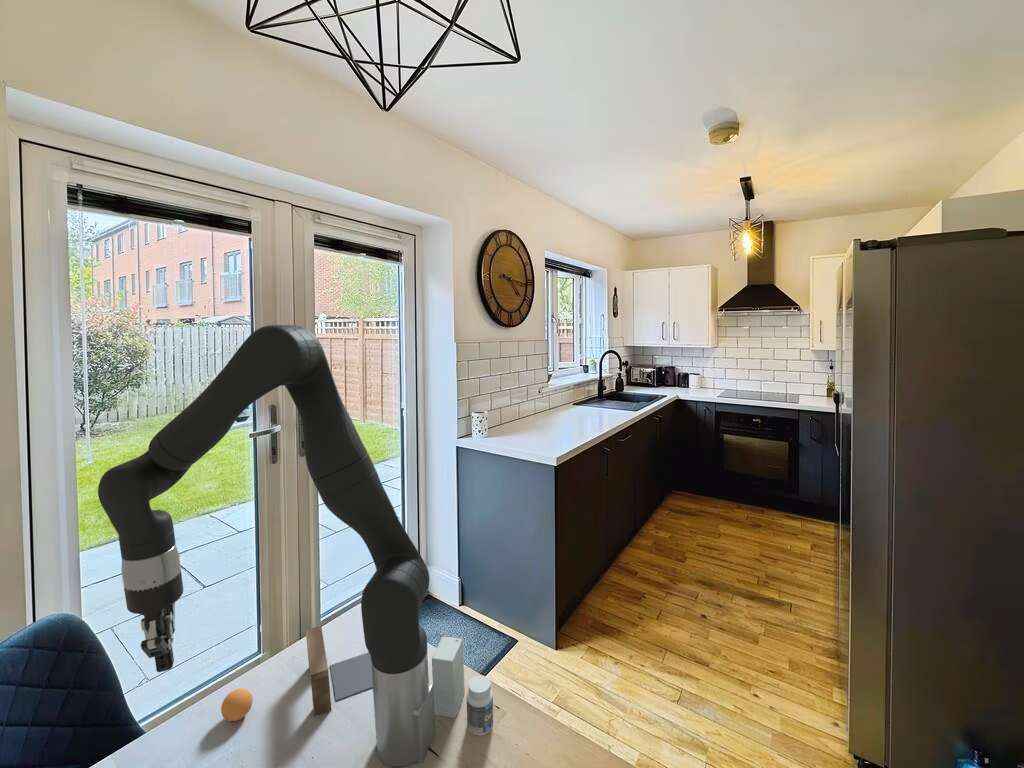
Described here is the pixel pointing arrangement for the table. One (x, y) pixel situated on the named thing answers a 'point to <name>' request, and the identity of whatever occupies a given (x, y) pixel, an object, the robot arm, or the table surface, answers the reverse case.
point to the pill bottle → (479, 705)
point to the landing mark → (352, 676)
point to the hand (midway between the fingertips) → (165, 667)
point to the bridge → (318, 671)
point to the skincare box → (448, 676)
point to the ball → (236, 704)
